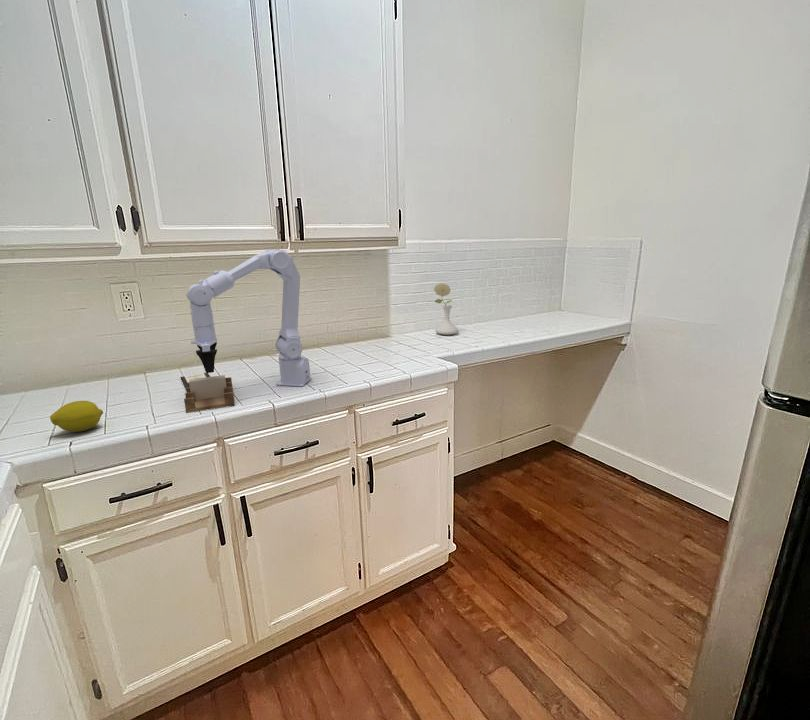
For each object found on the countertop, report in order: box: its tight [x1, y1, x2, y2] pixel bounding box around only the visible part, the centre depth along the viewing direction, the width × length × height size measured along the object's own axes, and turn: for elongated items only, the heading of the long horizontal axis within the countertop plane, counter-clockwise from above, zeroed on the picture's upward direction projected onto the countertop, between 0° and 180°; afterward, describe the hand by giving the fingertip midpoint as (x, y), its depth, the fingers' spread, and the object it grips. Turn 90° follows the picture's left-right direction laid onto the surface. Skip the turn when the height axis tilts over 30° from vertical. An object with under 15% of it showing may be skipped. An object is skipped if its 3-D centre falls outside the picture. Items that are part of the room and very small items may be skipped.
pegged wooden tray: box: [183, 376, 236, 414], centre depth 133 cm, size 13×16×4 cm
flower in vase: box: [433, 282, 459, 336], centre depth 213 cm, size 13×11×25 cm
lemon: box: [49, 400, 104, 433], centre depth 113 cm, size 11×8×8 cm
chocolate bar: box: [180, 372, 211, 390], centre depth 150 cm, size 9×1×18 cm
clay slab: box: [189, 374, 227, 400], centre depth 133 cm, size 10×2×6 cm, turn 113°
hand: (210, 368), depth 133 cm, fingers open, 7 cm apart
